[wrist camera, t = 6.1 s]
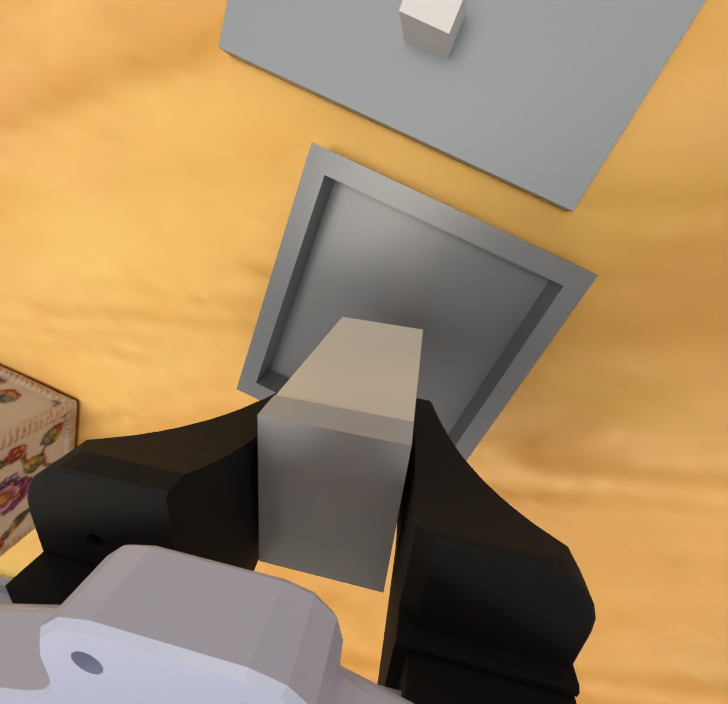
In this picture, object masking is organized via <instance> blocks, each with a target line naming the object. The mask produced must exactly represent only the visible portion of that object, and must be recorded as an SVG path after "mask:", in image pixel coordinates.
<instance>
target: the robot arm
mask: <svg viewBox="0 0 728 704" xmlns="http://www.w3.org/2000/svg"><path fill="white" fill-rule="evenodd" d="M277 393H278V392H277ZM277 393H275V394H273V395H271V396H269V397H267V398H265V399H262V400H260V401H258V402H256V403H253V404H251V405H249V406H247V407H244V408H242V409H239V410H237V411H234V412H231V413H229V414H226V415H223V416H220V417H217V418H214V419H210V420H207V421H203V422H199V423H195V424H191V425H187V426H183V427H179V428H174V429H169V430H164V431H159V432H152V433H146V434H140V435H132V436H123V437H113V438H103V439H92V440H86V441H85V442H83V443H82V444H80V445H79V446H77V447H76V448H74V449H73V450H72V451H70V452H69V453H67V454H66V455H64V456H63V457H61V458H60V459H58V460H57V461H55V462H54V463H52V464H51V465H49V466H48V467H46V468H45V469H43V470H42V471H40V472H39V473H37V474H36V475H35V476H34V477H33V479H32V480H31V482H30V483H29V489H28V496H27V500H28V505H29V510H30V513H31V516H32V519H33V522H34V525H35V528H36V531H37V533H38V536H39V539H40V542H41V545H42V548H43V551H44V552H43V553H42V554H40V555H39V556H38V557H37V558H36V559H35V560H34V561H32V562H31V563H30V564H29V565H28V566H27V567H26V568H25V569H23V570H22V571H21V572H20V573H19V574H18V575H17V576H15V577H14V578H13V579H11V578H7V577H4V576H0V704H576V700H575V697H574V696H576V697H577V696H578V694H579V683H578V680H577V677H576V673H575V670H574V667H573V663H574V661H575V659H576V658H577V656H578V654H579V652H580V651H581V649H582V647H583V645H584V644H585V642H586V640H587V638H588V637H589V635H590V633H591V631H592V628H593V625H594V622H595V619H596V617H595V608H594V603H593V601H592V598H591V596H590V593H589V591H588V588H587V586H586V583H585V581H584V578H583V576H582V574H581V572H580V569H579V567H578V565H577V564H576V562H575V560H574V558H573V556H572V554H571V552H570V550H569V548H568V547H567V546H566V545H564V544H563V543H561V542H560V541H558V540H557V539H555V538H554V537H553V536H551V535H550V534H548V533H547V532H545V531H544V530H542V529H541V528H539V527H538V526H536V525H535V524H533V523H532V522H531V521H529V520H528V519H527V518H526V517H524V516H523V515H522V514H520V513H519V512H518V511H517V510H515V509H514V508H513V507H512V506H510V505H509V504H508V503H507V502H506V501H505V500H503V499H502V498H501V497H500V496H499V495H498V494H497V493H496V492H495V491H494V490H493V489H492V488H491V487H489V486H488V485H487V484H486V483H485V482H484V481H483V480H482V479H481V478H480V476H479V475H478V474H477V473H476V472H475V471H474V470H473V469H472V467H471V466H470V465H469V464H468V463H467V462H466V460H465V459H464V458H463V457H462V455H461V454H460V452H459V451H458V449H457V448H456V447H455V445H454V444H453V442H452V440H451V439H450V437H449V435H448V434H447V432H446V430H445V429H444V427H443V425H442V423H441V421H440V419H439V417H438V415H437V413H436V411H435V409H434V406H433V404H432V403H431V401H429V400H424V399H418V398H416V405H415V415H414V427H413V437H412V446H411V451H410V457H409V462H408V467H407V472H406V477H405V482H404V488H403V493H402V498H401V503H400V508H399V514H398V519H397V536H396V549H395V557H394V565H393V572H392V580H391V588H390V595H389V603H388V611H387V618H386V626H385V633H384V641H383V648H382V655H381V663H380V670H379V677H378V684H375V683H373V682H372V681H370V680H368V679H366V678H364V677H362V676H360V675H358V674H356V673H354V672H352V671H350V670H348V669H346V668H344V667H343V666H341V665H340V658H341V650H342V643H343V638H342V634H341V631H340V627H339V623H338V619H337V617H336V615H335V614H334V612H333V611H332V610H331V609H330V608H329V607H328V606H327V605H326V604H325V603H324V602H323V601H322V600H321V599H320V598H319V597H318V596H317V595H316V594H315V593H314V592H312V591H310V590H308V589H306V588H304V587H301V586H299V585H297V584H295V583H292V582H290V581H288V580H286V579H282V578H278V577H274V576H270V575H267V574H263V573H259V572H255V571H254V569H255V567H256V564H257V562H258V559H259V504H258V416H257V415H258V413H259V412H260V411H261V410H262V409H263V408H264V406H265V405H266V404H267V403H268V402H269V401H270V399H271V398H272V397H273V396H274V395H276V394H277Z"/></svg>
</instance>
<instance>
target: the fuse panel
mask: <svg viewBox="0 0 728 704" xmlns="http://www.w3.org/2000/svg"><path fill="white" fill-rule="evenodd" d="M705 1H706V0H227V5H226V11H225V16H224V22H223V27H222V32H221V38H220V43H219V48H220V49H222V50H223V51H225V52H226V53H227V54H229V55H230V56H232V57H234V58H236V59H239V60H241V61H243V62H245V63H247V64H249V65H252V66H254V67H256V68H258V69H260V70H262V71H265V72H267V73H269V74H271V75H273V76H275V77H278V78H280V79H282V80H284V81H286V82H288V83H291V84H293V85H295V86H297V87H299V88H301V89H303V90H306V91H308V92H310V93H312V94H314V95H316V96H319V97H321V98H323V99H325V100H327V101H329V102H332V103H334V104H336V105H338V106H340V107H342V108H345V109H347V110H349V111H351V112H353V113H355V114H358V115H360V116H362V117H364V118H366V119H368V120H371V121H373V122H375V123H377V124H379V125H381V126H383V127H386V128H388V129H390V130H392V131H394V132H396V133H399V134H401V135H403V136H405V137H407V138H409V139H412V140H414V141H416V142H418V143H420V144H422V145H425V146H427V147H429V148H431V149H433V150H435V151H438V152H440V153H442V154H444V155H446V156H448V157H450V158H453V159H455V160H457V161H459V162H461V163H463V164H466V165H468V166H470V167H472V168H474V169H476V170H479V171H481V172H483V173H485V174H487V175H489V176H492V177H494V178H496V179H498V180H500V181H502V182H505V183H507V184H509V185H511V186H513V187H515V188H518V189H520V190H522V191H524V192H526V193H528V194H530V195H533V196H535V197H537V198H539V199H541V200H543V201H546V202H548V203H550V204H552V205H554V206H556V207H559V208H561V209H563V210H565V211H573V210H574V209H575V207H576V206H577V204H578V203H579V201H580V199H581V198H582V196H583V195H584V193H585V191H586V190H587V188H588V187H589V185H590V183H591V182H592V180H593V179H594V177H595V176H596V174H597V172H598V171H599V169H600V168H601V166H602V164H603V163H604V161H605V160H606V158H607V156H608V155H609V153H610V152H611V150H612V149H613V147H614V145H615V144H616V142H617V141H618V139H619V137H620V136H621V134H622V133H623V131H624V129H625V128H626V126H627V125H628V123H629V122H630V120H631V118H632V117H633V115H634V114H635V112H636V110H637V109H638V107H639V106H640V104H641V102H642V101H643V99H644V98H645V96H646V94H647V93H648V91H649V90H650V88H651V87H652V85H653V83H654V82H655V80H656V79H657V77H658V75H659V74H660V72H661V71H662V69H663V67H664V66H665V64H666V63H667V61H668V60H669V58H670V56H671V55H672V53H673V52H674V50H675V48H676V47H677V45H678V44H679V42H680V40H681V39H682V37H683V36H684V34H685V33H686V31H687V29H688V28H689V26H690V25H691V23H692V21H693V20H694V18H695V17H696V15H697V13H698V12H699V10H700V9H701V7H702V6H703V4H704V2H705Z"/></svg>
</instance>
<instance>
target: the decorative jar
mask: <svg viewBox="0 0 728 704" xmlns="http://www.w3.org/2000/svg"><path fill="white" fill-rule="evenodd" d="M76 416H77V402H76V400H74V399H71V398H69V397H67V396H65V395H63V394H60V393H58V392H56V391H54V390H52V389H50V388H48V387H46V386H44V385H42V384H40V383H37V382H35V381H33V380H31V379H29V378H27V377H25V376H23V375H21V374H18V373H16V372H14V371H11V370H9V369H7V368H5V367H2V366H0V556H2V555H3V554H4V553H5V552H6V551H7V550H9V549H10V548H11V547H13V546H14V545H15V544H16V543H18V542H19V541H20V540H21V539H22V538H24V537H25V536H26V535H27V534H28V533H30V532H31V531H32V530H33V529H35V525H34V522H33V519H32V516H31V513H30V510H29V505H28V500H27V496H28V489H29V483H30V482H31V480H32V479H33V477H34V476H35V475H36V474H37V473H39V472H40V471H42V470H43V469H45V468H46V467H48V466H49V465H51V464H52V463H54V462H55V461H57V460H58V459H60V458H61V457H63V456H64V455H66V454H67V453H69V452H70V451H72V450H73V449H74V448H75V433H76Z"/></svg>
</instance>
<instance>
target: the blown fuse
mask: <svg viewBox="0 0 728 704" xmlns="http://www.w3.org/2000/svg"><path fill="white" fill-rule="evenodd" d="M422 335H423V329H416V328H410V327H404V326H397V325H391V324H385V323H379V322H372V321H366V320H360V319H353V318H347V317H342V318H341V319H340V320H339V321H338V323H337V324H336V325H335V326H334V327H333V328H332V330H331V331H330V332H329V333H328V334H327V335H326V337H325V338H324V339H323V340H322V341H321V343H320V344H319V345H318V346H317V347H316V348H315V350H314V351H313V352H312V353H311V354H310V356H309V357H308V358H307V359H306V360H305V361H304V363H303V364H302V365H301V366H300V367H299V369H298V370H297V371H296V372H295V373H294V374H293V376H292V377H291V378H290V379H289V380H288V381H287V383H286V384H285V385H284V386H283V387H282V389H281V390H280V391H279V392H278V393H277V394H276V395H274V396H273V397H272V398H271V399H270V401H269V402H268V403H267V404H266V405H265V406H264V408H263V409H262V410H261V411H260V412H259V413H258V415H257V416H258V504H259V561H262V562H266V563H270V564H274V565H278V566H282V567H286V568H290V569H294V570H297V571H301V572H305V573H309V574H313V575H317V576H321V577H325V578H329V579H333V580H337V581H341V582H345V583H348V584H352V585H356V586H360V587H364V588H368V589H372V590H376V591H380V592H383V591H384V586H385V581H386V576H387V571H388V565H389V560H390V555H391V550H392V545H393V540H394V534H395V529H396V524H397V519H398V514H399V508H400V503H401V498H402V493H403V488H404V482H405V477H406V472H407V467H408V462H409V457H410V451H411V446H412V437H413V427H414V415H415V405H416V395H417V385H418V375H419V365H420V355H421V345H422Z"/></svg>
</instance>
